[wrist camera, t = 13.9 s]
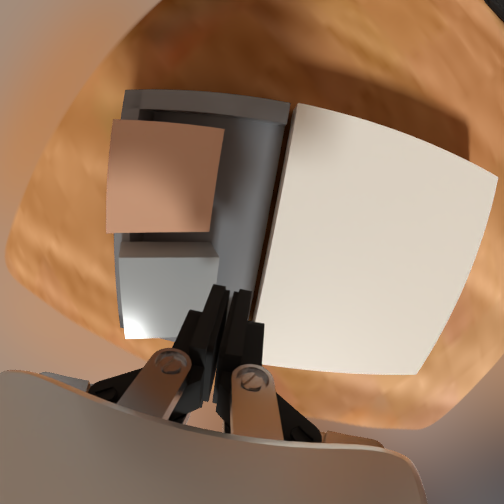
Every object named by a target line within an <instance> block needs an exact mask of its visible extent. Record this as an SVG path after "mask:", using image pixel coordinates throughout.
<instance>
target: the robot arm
mask: <svg viewBox="0 0 504 504" xmlns="http://www.w3.org/2000/svg"><path fill="white" fill-rule="evenodd" d="M251 294H252V291H249V290H244V289H239V292H236V291H234V293H233V297H232V301H231V305H230V309H229V313H228V317H227V321H226V316H227V309H228V303H229V296H230V290H226V286H222V285H217V284H213V286H212V288H211V291H210V293H209V296H208V299H207V301H206V304H205V306H204V309H203V311H202V312H200V311H196V310H191V309H190V310H189V312H188V314H187V316H186V318H185V320H184V322H183V325H182V327H181V329H180V331H179V334H178V336H177V338H176V340H175V343H174V345H173V347H172V348H165V349H161V350H159V351H157V352H155V353H154V354H153V355H152V357H151V358H150V359H149V361H148V362H147V363H146V365H145V366H144V367H143V368H141V369H138V370H134V371H131V372H128V373H125V374H122V375H119V376H115V377H112V378H108V379H105V380H102V381H99V382H97V383H95V384H90V382H89V381H87V380H82V379H77V378H72V377H67V376H62V375H58V374H54V373H50V372H42V373H39V374H38V373H34V372H30V371H22V370H7V371H3V372H1V373H0V504H428V503H427V498H426V494H425V490H424V487H423V484H422V481H421V478H420V475H419V473H418V471H417V469H416V467H415V465H414V464H413V463H412V461H411V460H410V459H408V458H407V457H406V456H404V455H402V454H400V453H397V452H395V451H392V450H388V449H385V448H384V447H383V445H382V444H381V443H380V442H378V441H376V440H373V439H368V438H362V437H357V436H351V435H346V434H341V433H336V432H332V431H327V432H326V433H324V432H320V431H319V430H318V429H317V427H316V426H315V425H313V424H312V423H311V422H310V421H308V420H307V419H306V418H305V417H304V416H303V415H301V414H300V413H299V412H298V411H297V410H296V409H294V408H293V407H292V406H291V405H290V404H289V403H287V402H286V401H285V400H284V399H283V398H282V397H281V396H280V395H278V394H277V393H276V391H275V385H274V379H273V377H272V375H271V373H270V372H269V371H268V370H267V369H265V368H264V367H262V356H263V342H264V327H265V324H264V323H259V322H253V321H248V314H249V308H250V301H251ZM225 323H226V325H225ZM216 368H217V369H216ZM215 372H216V377H215V385H214V394H213V403H217V406H216V412H217V413H218V415H219V416H220V417H221V418H222V419H223V420H224V421H223V433H222V432H216V431H212V430H207V429H201V428H197V427H193V426H188V425H186V423H187V421H188V419H189V417H190V413H191V412H192V411H194V410H196V409H198V408H199V407H200V408H201V407H202V404H203V401H207V402H208V401H209V397H210V393H211V389H212V385H213V380H214V376H215Z"/></svg>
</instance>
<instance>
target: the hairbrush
mask: <svg viewBox="0 0 504 504" xmlns="http://www.w3.org/2000/svg"><path fill="white" fill-rule="evenodd" d="M484 1H485V3H486V4H487V5H488V6H489V7H490V8H491V9H492V10H493V11H494V12H495V13H496V14H497V15H498V16H499V17H500V18H501V19H502V20H503V21H504V0H484Z"/></svg>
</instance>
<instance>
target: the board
mask: <svg viewBox="0 0 504 504" xmlns="http://www.w3.org/2000/svg"><path fill="white" fill-rule="evenodd" d="M497 181H498V177H497V176H495V175H494V174H492V173H490V172H488V171H486V170H485V169H483V168H481V167H479V166H477V165H475V164H473V163H471V162H469V161H467V160H465V159H463V158H461V157H459V156H457V155H455V154H453V153H451V152H448V151H446V150H444V149H442V148H440V147H437V146H435V145H433V144H430V143H428V142H426V141H423V140H421V139H418V138H416V137H413V136H410V135H408V134H405V133H402V132H400V131H397V130H394V129H391V128H388V127H386V126H383V125H380V124H377V123H373V122H370V121H367V120H364V119H361V118H357V117H354V116H350V115H347V114H343V113H339V112H335V111H332V110H328V109H324V108H319V107H315V106H311V105H306V104H301V103H298V104H297V105H296V107H295V108H294V110H293V114H292V119H291V125H290V130H289V136H288V141H287V147H286V152H285V158H284V163H283V168H282V174H281V179H280V184H279V190H278V195H277V200H276V205H275V211H274V216H273V221H272V226H271V231H270V236H269V241H268V246H267V251H266V256H265V261H264V266H263V271H262V276H261V281H260V286H259V291H258V296H257V301H256V306H255V311H254V316H253V320H252V321H253V322H259V323H264V324H265V327H264V342H263V356H262V364H264V365H271V366H279V367H286V368H295V369H304V370H314V371H325V372H338V373H355V374H381V375H416V374H417V373H418V371H419V370H420V368H421V366H422V365H423V363H424V362H425V360H426V358H427V357H428V355H429V353H430V352H431V350H432V348H433V347H434V345H435V343H436V341H437V340H438V338H439V336H440V334H441V332H442V331H443V329H444V327H445V325H446V323H447V321H448V319H449V317H450V315H451V313H452V311H453V309H454V307H455V305H456V303H457V301H458V298H459V296H460V294H461V292H462V290H463V287H464V285H465V283H466V280H467V278H468V275H469V273H470V271H471V268H472V265H473V263H474V260H475V257H476V255H477V252H478V249H479V246H480V243H481V240H482V237H483V234H484V231H485V228H486V224H487V221H488V218H489V214H490V210H491V207H492V203H493V199H494V195H495V190H496V186H497Z"/></svg>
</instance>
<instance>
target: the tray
mask: <svg viewBox="0 0 504 504" xmlns="http://www.w3.org/2000/svg"><path fill="white" fill-rule="evenodd" d="M289 109H290V103H288V102H282V101H277V100H271V99H265V98H258V97H251V96H244V95H236V94H227V93H217V92H205V91H190V90H159V89H145V90H125V95H124V101H123V108H122V114H121V120H142V121H157V122H170V123H180V124H190V125H198V126H206V127H214V128H221V129H225V130H224V136H223V142H222V148H221V154H220V160H219V167H218V173H217V180H216V186H215V193H214V200H213V207H212V214H211V222H210V230H209V232H143V233H114V255H115V275H116V289H117V301H118V311H119V320H120V327H121V328H124V323H123V313H122V303H121V291H120V276H119V252H120V245H121V241H130V242H211V244H212V246H213V247H214V249H215V251H216V252H217V254H218V256H219V257H220V258H219V266H218V274H217V283H216V284H217V285H222V286H226V290H230V296H229V303H228V309H227V316H226V321H227V317H228V313H229V309H230V305H231V301H232V297H233V293H234V291H236V292H239V289H244V290H249V291H252V294H251V301H250V308H249V314H250V309H251V303H252V298H253V293H254V288H255V283H256V278H257V273H258V267H259V262H260V257H261V252H262V247H263V241H264V236H265V231H266V226H267V220H268V215H269V210H270V204H271V199H272V194H273V188H274V183H275V177H276V172H277V167H278V161H279V156H280V150H281V145H282V139H283V134H284V128H285V126H286V124H287V120H288V115H289ZM249 314H248V319H249ZM225 325H226V323H225ZM176 338H177V337H167V338H161V339H165V340H170V341H174V342H175V340H176Z"/></svg>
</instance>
